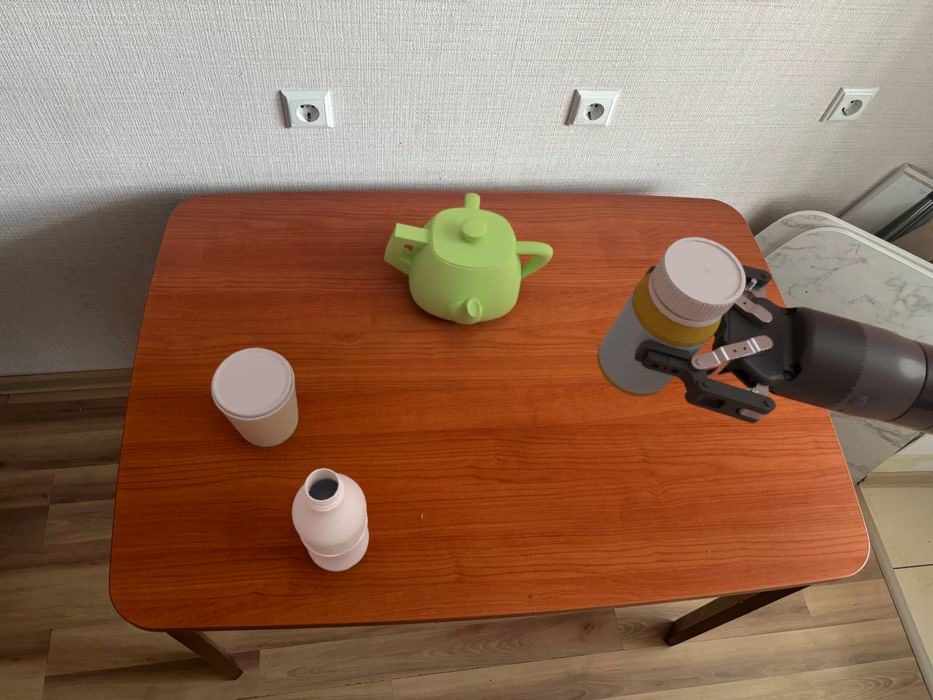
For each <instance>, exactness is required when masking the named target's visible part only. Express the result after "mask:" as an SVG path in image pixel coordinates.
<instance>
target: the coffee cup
mask: <svg viewBox="0 0 933 700" xmlns="http://www.w3.org/2000/svg"><path fill="white" fill-rule="evenodd" d="M294 373H295V372H294V371H293V368H292V366H291V364H290V362H289V361H288V360H287V359H286V358H285V357H284V356H283V355H281V354H280V353H278V352H276V351H273V350H270V349H267V348H262V347H250V348H245V349H241V350H238V351H236V352H234V353H231V354H230V355H229V356H228V357H226V358H225V359H224V360H223V361H222V362H221V363H220V364H219V365H218V367H217V368H216V371H215V372H214V374H213V375H212V380H211V385H210V390H211V392H210V393H211V397H212V400H213V402H214V404H215V405H216V407H217V408H218V409H219V410H220V412H222V413H223V415H225V416H226V418H227V419H228V420H229V422H230V423H231V424H232V425H233V427H234V428H235V430H237V431H238V433H239V435H241V437H243V438H244V440H246V441H247V442H249V443H250V444H251V445H254V446H256V447H257V446H258V447H263V448H269V447H274V446H277V445H280V444H282V443H284V442H286V440H288V439H290V437H291V436H292V435H293V434H294V432H295V430H296V428H297V426H298V424H299V423H298V422H299V407H298V398H297V394H296V393H297V392H296V385H295V383H296V381H295V379H296V377H295V374H294Z"/></svg>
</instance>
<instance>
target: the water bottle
mask: <svg viewBox="0 0 933 700" xmlns="http://www.w3.org/2000/svg"><path fill="white" fill-rule="evenodd" d="M291 508H292V509H291V519H292V522H293V527H294V528H295V530H296V532H297V533H298V535H299V538H300V540H301V542H302V543H303V545H304V546H305V548H306V549H307V551H308V554H309V556H310V558H311V560H312V561H313V562H314V563H315V565H317V566H319V567H320V568H322V569H323V570H325V571H326V570H327V571H330V572H342V571H346V570H349V569H350V568H352V567H354V566H355V565H356V564H358V563H359V562H360V561H361V560H362V559H363V557H364V556H365V554H366V552H367V549H368V546H369V541H370V540H369V539H370V534H369V527H368V523H369V521H368V518H369V517H368V513H367V501H366V497H365V495H364V492H363V490H362V488H361V487H360V486H359V484H358V483H357V482H356V481H355V480H353V479H352V478H351V477H349V476H347V475H346V474H342V473H339V472H336V471H334V470H332V469H330V468H324V467H323V468H322V467H321V468H318V469H315V470H313V471H312V472H311V473H310V474H309V475H308V476H307V477H306V480H305V481H304V484H302V486H301V487H300V488H299V489H298V491H297V492H296V494H295V497H294V500H293V502H292V507H291Z"/></svg>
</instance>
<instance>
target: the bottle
mask: <svg viewBox="0 0 933 700" xmlns="http://www.w3.org/2000/svg"><path fill="white" fill-rule="evenodd" d="M742 265H743V264H742V263H741V262H740V260H739V259H738V257H736V255H734V253H733V251H732V252H731V251H730V250H729V249H728V248H727V247H725V246H723V245H722V244H720V243H719V242H717V241H714V240H712V239H709V238H706V237H698V236H689V237H682V238H679V239H678V240H676V241H675V242H673V243H672V244H671V245H669V246H668V248H667V249H666V250H665V252H664V253H663V255H661V258H660V259H659V260H658V262H657V263H656V265H655V266H656V267H655V269H654V270H653V272H651V273H649V274H648V275H647V276H645V275H644V276H645V277H644V276H643V277H644V278H643V277H642V279H640V281H639V283H638V284H637V285H636V287H635V289H633V292H632V293H631V295H630V296H629V297H628V300H627V301H626V303H625V304H624V306H622V309H621V310H620V312H619V314H618V315H617V316H616V318H615V320H614V321H613V323H612V324H611V327H610V328H609V329H608V331H607V333H606V334H605V335H604V338H603V339H602V341H601V342H600V345H599V346H598V349H597V355H596V360H597V365H598V369H599V371H600V373H601V374H602V376H603V378H604V379H605V380H606V381H607V382H608V383H609V384H610V385H611V387H613V388H614V389H615V390H617V391H619V392H621V393H623V394H625V395H629V396H632V397H649V396H653V395H655V394H657V393H659V392H660V391H662V390H663V389H664V388H665V387H666V386H667V385H668V384H669V383H670V382H671V381H672V380H673V379H674V378H675V376H672V375H668V374H665V373H661V372H657V371H655V370H650V369H647V368H645V367H644V366H642V365H641V362H638V361H636V360H635V350H636V349H637V348H638V346H639V345H640V344H641V342H642V341H645V340H648V341H652V342H656V343H660V344H663V345H667V346H670V347H674V348H678V349H682V350H685V351H689V352H690V357H693V356H695V355H697V353H698V352H699V351H700V350H701V349H702V348H703V347H704V345H706V343H708V341H709V340H711V338H712V337H714V333H715V332H716V330H717V328H718V326H719V324H720V321H721V317H722V316H723V314H724V313H726V312H727V311H728V310H729V309H730V308H731V307H732V305H733V304H734V303H735V302H736V301H737V300H738V299H739V298H740V296H741V295H742V293H743V291H744V288H745V285H746V276H745V272H744V269H743V267H742Z"/></svg>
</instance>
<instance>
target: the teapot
mask: <svg viewBox="0 0 933 700" xmlns="http://www.w3.org/2000/svg"><path fill="white" fill-rule="evenodd" d="M480 204H481V196H480V195H479V194H478V193H475V192H467V193H465V195H464V200H463V205H462V207H452V208H447V209H443V210H441V211H439V212H438V213H436V214H435V215H434V216H433V217H432V218H431V219H429V221H427V223H426V224H424V226H423V227H418V226H413V225H409V224H403V223H399V222H396V224H395V226H394V229H393V231H392V233H391V235H390V238H389V240H388V242H387V245H386V247H385V253H384V259H383V261H384V262H386V263H387V264H389V265H391V266H393V267H394V268H396V269H398V270H399V271H400V272H402V273H404V274H406V275H407V276H408V285H409V291H410V294H411V297H412V299H413V300H414V302H415V303H416V305H417V306H418V307H419V308H421V309H422V310H423V311H425V312H426V313H428V314H430V315H432V316H434V317H438V318H440V319H443V320H447V321H452V322H455V323H456V324H459V325H466V326H467V325H474V324H476V323H482V322H489V321H493V320H496V319H500V318H502V317H503V316H506V315H507V314H509V312H511V310H513V308H514V306H515V305H516V303H517V301H518V298H519V294H520V289H521V280H523V279H524V278H527V277H529V276H530V275H532V274H533V273H536V272H538V271H539V270H540V269H542V268H543V267H545V266H546V265H547V264H548V263H549V262H550V261H551V259H552V257H553V255H554V250H553V248H552V245H549V244H548V243H545V242H542V241H541V242H540V241H531V240H522V241H521V240H517V237H516V235H515V231H514V230H513V227H512V226H511V223H510V222H509V221H508V220H507V218H505V217H503V216H502V215H500V214H498V213H496V212H493V211H489V210H485V209H481V208H480ZM405 245H408V246H411V247H413V248H412V250H410V249H408V248H406V247H405ZM521 255H525V256H526V255H527V256H528V255H529V256H533V257H532V258H531V259H529V260H527V262H525V263H523V264H522V261H521Z"/></svg>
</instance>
